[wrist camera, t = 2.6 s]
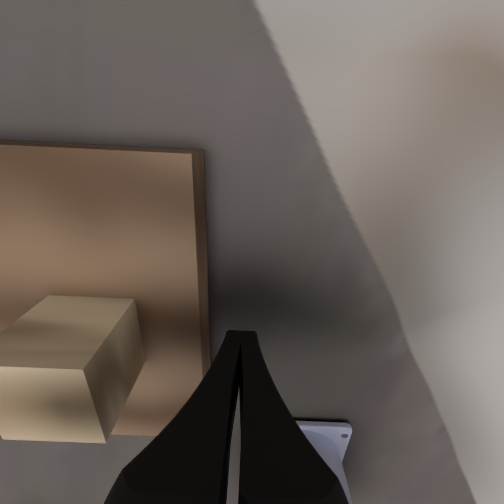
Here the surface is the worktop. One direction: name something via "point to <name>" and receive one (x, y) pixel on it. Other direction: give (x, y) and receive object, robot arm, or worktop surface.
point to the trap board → (114, 253)
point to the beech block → (69, 368)
